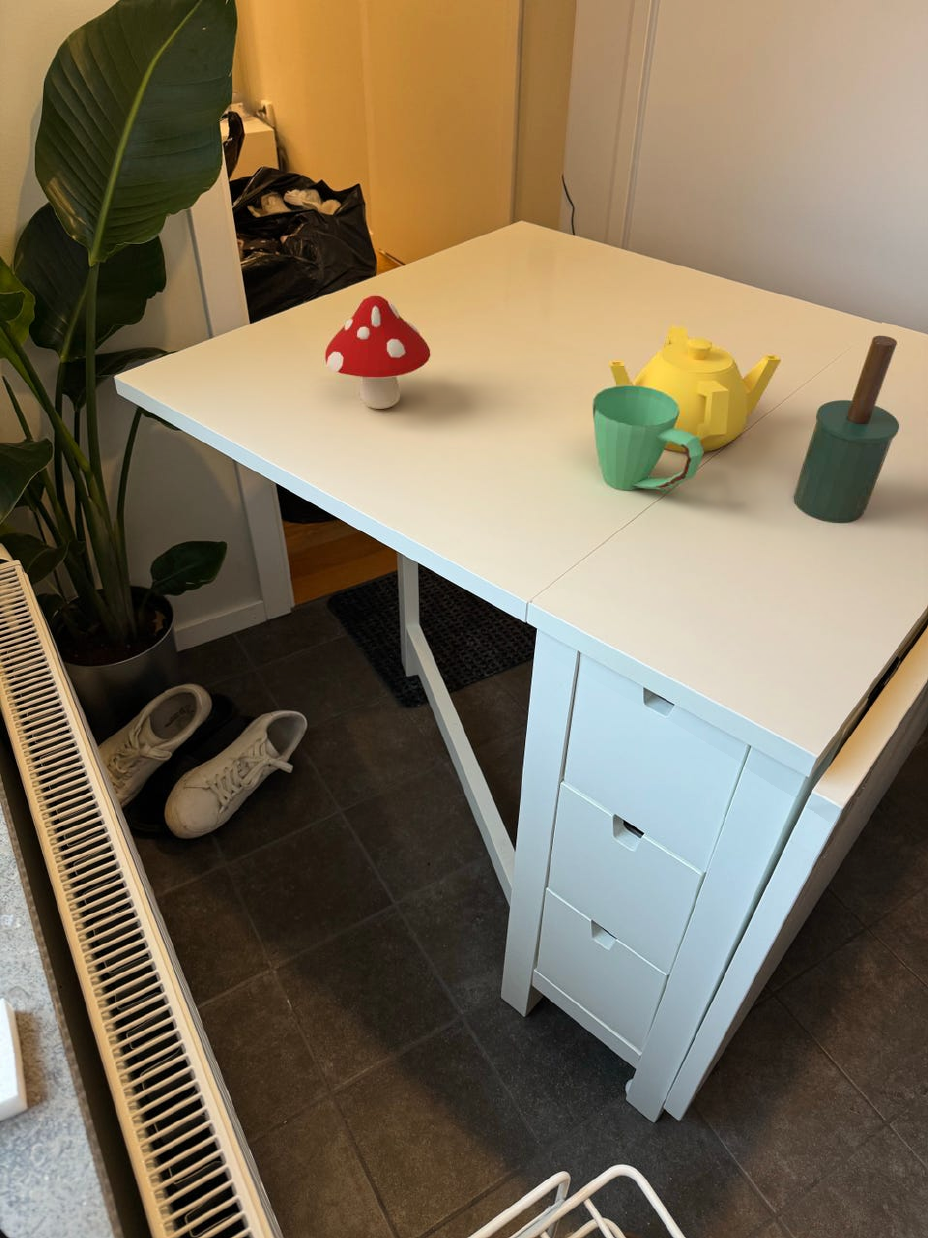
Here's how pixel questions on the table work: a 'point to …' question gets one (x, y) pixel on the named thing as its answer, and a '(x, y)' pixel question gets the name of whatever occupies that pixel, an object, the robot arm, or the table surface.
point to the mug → (639, 437)
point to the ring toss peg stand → (864, 402)
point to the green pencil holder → (838, 476)
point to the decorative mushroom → (377, 351)
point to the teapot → (702, 387)
